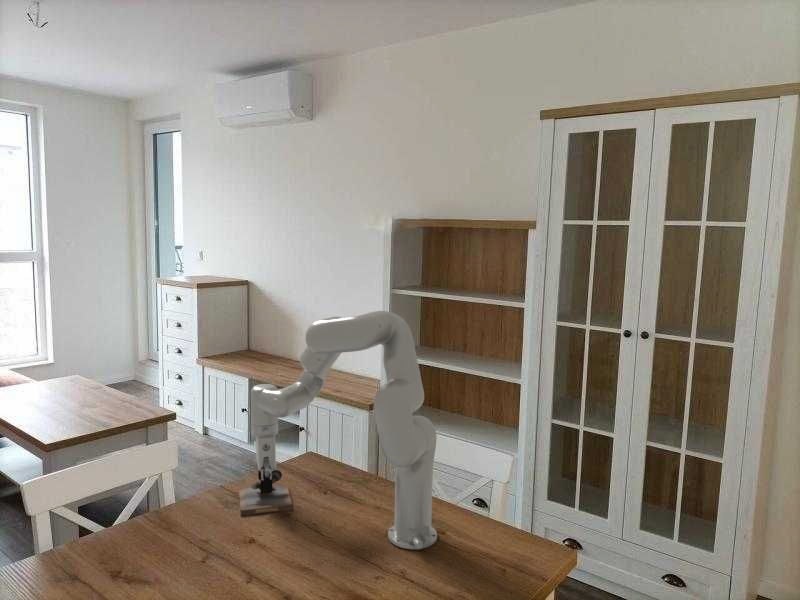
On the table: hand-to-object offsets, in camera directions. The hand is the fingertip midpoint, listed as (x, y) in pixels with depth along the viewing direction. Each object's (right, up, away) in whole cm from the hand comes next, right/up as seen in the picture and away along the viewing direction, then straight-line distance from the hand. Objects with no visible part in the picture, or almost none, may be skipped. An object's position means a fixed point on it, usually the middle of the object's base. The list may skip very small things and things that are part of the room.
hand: (265, 485), depth 169 cm
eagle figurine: (0, -3, +2) cm, 4 cm away
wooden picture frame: (0, -5, +1) cm, 5 cm away
